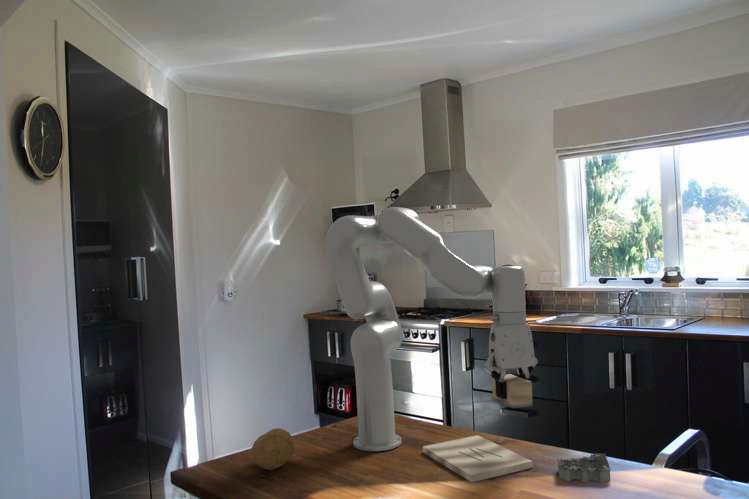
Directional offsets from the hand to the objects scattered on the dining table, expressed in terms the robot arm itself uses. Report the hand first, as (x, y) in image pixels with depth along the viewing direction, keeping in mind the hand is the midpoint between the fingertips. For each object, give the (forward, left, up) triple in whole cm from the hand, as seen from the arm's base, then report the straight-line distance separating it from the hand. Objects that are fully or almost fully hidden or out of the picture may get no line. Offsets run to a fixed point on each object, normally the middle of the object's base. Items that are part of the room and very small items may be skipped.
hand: (511, 395), depth 138 cm
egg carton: (+16, +6, -15) cm, 23 cm away
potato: (-25, -51, -15) cm, 59 cm away
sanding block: (0, 0, -2) cm, 2 cm away
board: (-4, -8, -15) cm, 17 cm away
